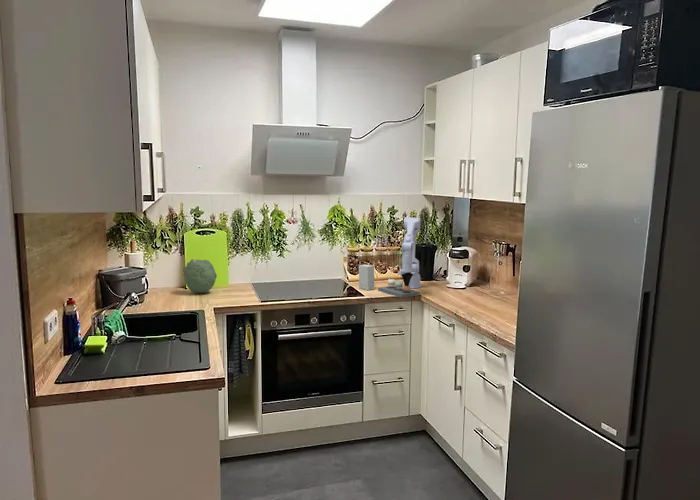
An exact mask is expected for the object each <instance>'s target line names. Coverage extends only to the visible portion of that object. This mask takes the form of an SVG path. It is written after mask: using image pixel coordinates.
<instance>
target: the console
mask: <svg viewBox="0 0 700 500" xmlns="http://www.w3.org/2000/svg"><path fill="white" fill-rule="evenodd" d="M377 291H378V292H380V291H381V293H384V294H387V293H388V294H387V295H390V294H391V296H394V297H398V298H401V299H403V298H404V299H405V298H410V297H416V296H421V291H420V290H419V291H418V290H415V289H413V288H412V289H410V291H409V292H405V291H403V287H395V285H386V286H380V287H379V286H378V288H377Z"/></svg>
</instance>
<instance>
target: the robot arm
mask: <svg viewBox="0 0 700 500" xmlns="http://www.w3.org/2000/svg"><path fill="white" fill-rule="evenodd" d="M403 218H404V219H403V228H404V230H405V231H406V233H405V234H404V237H403V242H402V243H401V255H402V263H401V264H402V265H401V268H402V269H400V270H399V271H397V275H399V276H401V278H402V280H403V281H402V282H403V285H405V286H409V285H410V289H412V290H413V289H417V288H418V289H419V288H422V286H421V274H420V261H419V259H417V258H416V239H417V233H418V232H419V231H420V230H421V217H406V216H405V217H403Z"/></svg>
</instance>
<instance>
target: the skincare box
mask: <svg viewBox="0 0 700 500" xmlns="http://www.w3.org/2000/svg"><path fill="white" fill-rule="evenodd" d="M358 289H360V290H366V291H371V290H375V265H371V264H365V263H364V264H360V265H358Z"/></svg>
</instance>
